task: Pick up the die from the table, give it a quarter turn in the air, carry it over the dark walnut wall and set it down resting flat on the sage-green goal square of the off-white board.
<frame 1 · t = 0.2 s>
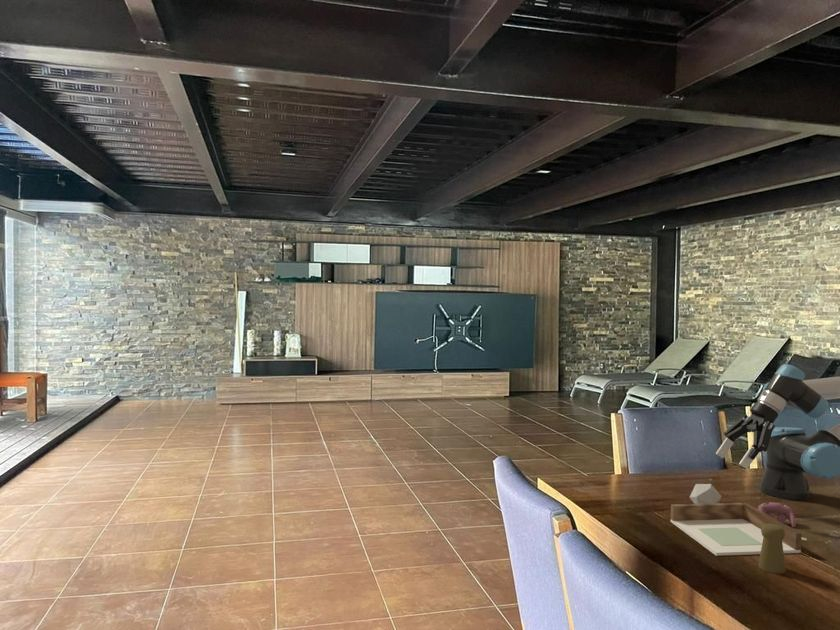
hand: (730, 461, 196), 15 cm above the table, tool tilted 35°, fingers open, 13 cm apart
video game controller: (776, 523, 184), on the table
die: (705, 509, 196), on the table
arena: (731, 536, 174), on the table
olive pawn figure: (771, 568, 154), on the table
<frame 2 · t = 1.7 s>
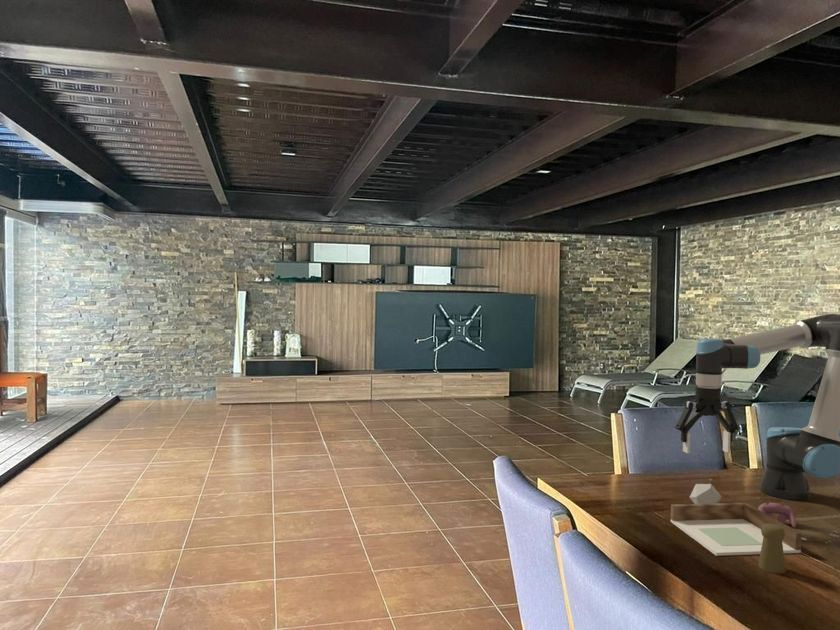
hand: (706, 452, 195), 18 cm above the table, tool pointing down, fingers open, 13 cm apart
nothing on the table moved.
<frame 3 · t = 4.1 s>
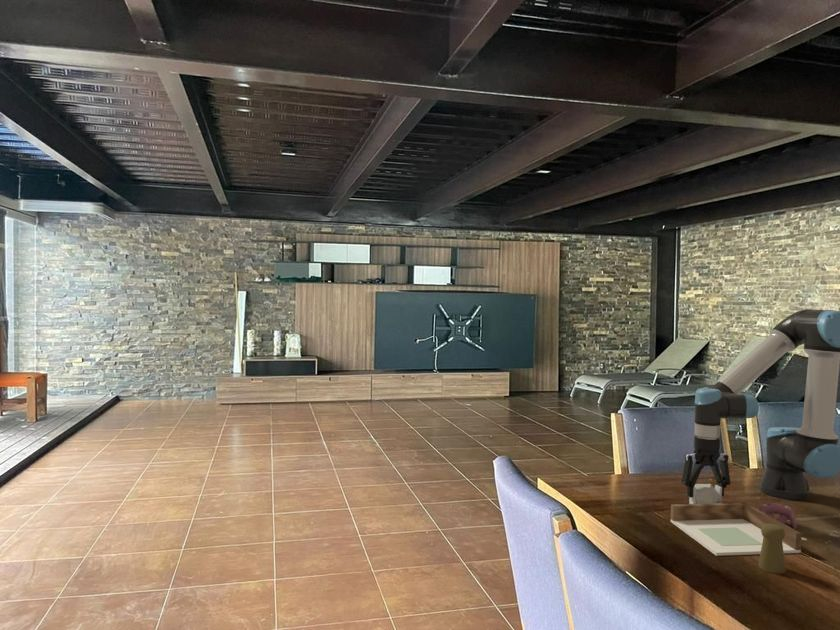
hand: (705, 506, 196), 1 cm above the table, tool pointing down, fingers closed on die, 8 cm apart
die: (704, 509, 196), on the table, touching gripper
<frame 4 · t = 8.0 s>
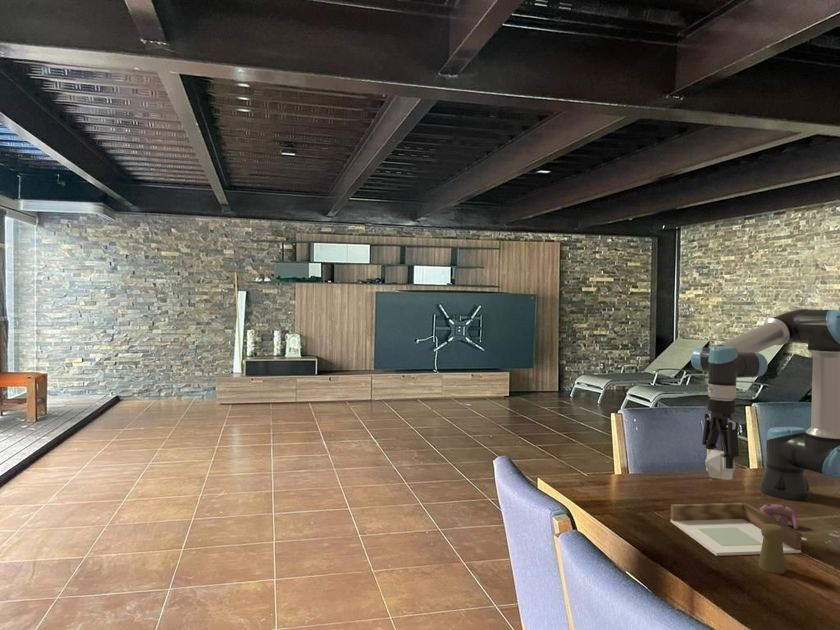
hand: (719, 474, 180), 16 cm above the table, tool pointing down, fingers closed on die, 8 cm apart
die: (719, 478, 180), point 15 cm above the table, touching gripper
when the fingers open (2 cm above the table, at t = 12.1 s): die stays where it is, resting on arena.
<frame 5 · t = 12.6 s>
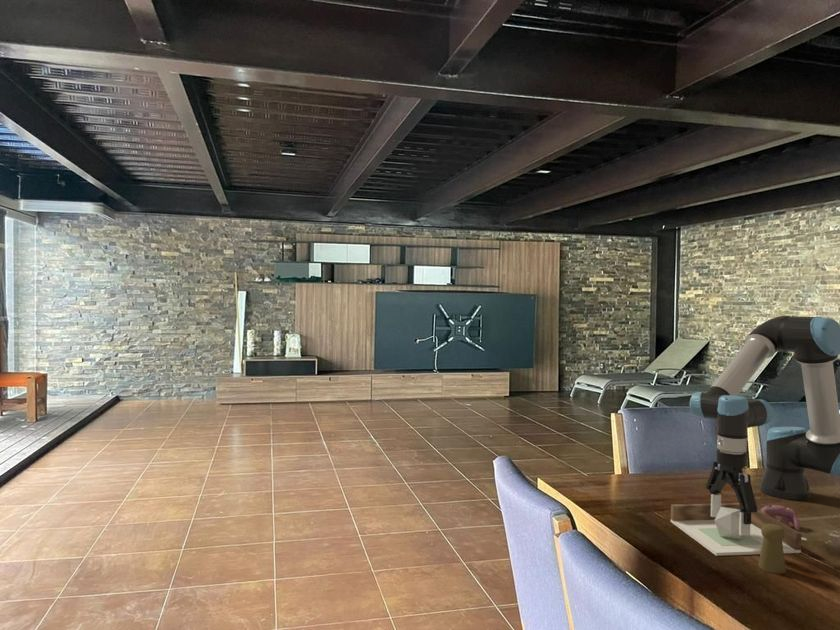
hand: (729, 525, 171), 4 cm above the table, tool pointing down, fingers open, 13 cm apart
die: (730, 537, 171), point 1 cm above the table, touching arena
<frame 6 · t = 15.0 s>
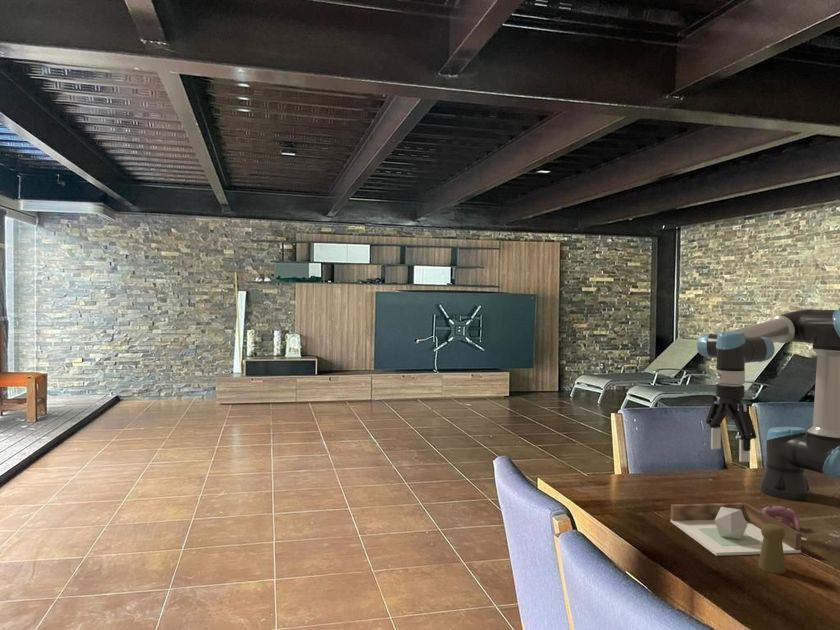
hand: (729, 454, 180), 22 cm above the table, tool pointing down, fingers open, 13 cm apart
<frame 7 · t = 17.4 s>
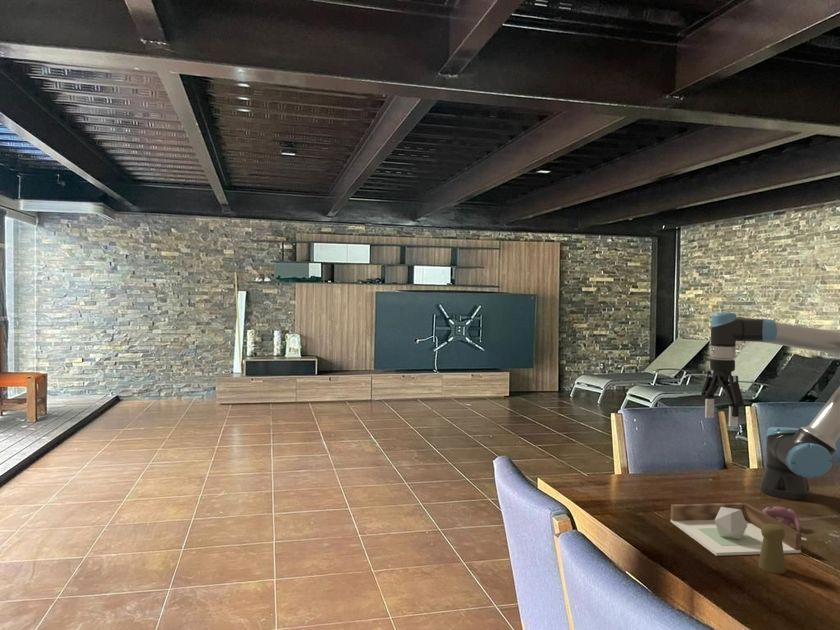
hand: (720, 421, 203), 27 cm above the table, tool pointing down, fingers open, 13 cm apart
at the end: die inside the target area on the arena (0.3 cm from its centre), point 0.7 cm above the arena's base; die touching arena; the gripper is holding nothing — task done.
